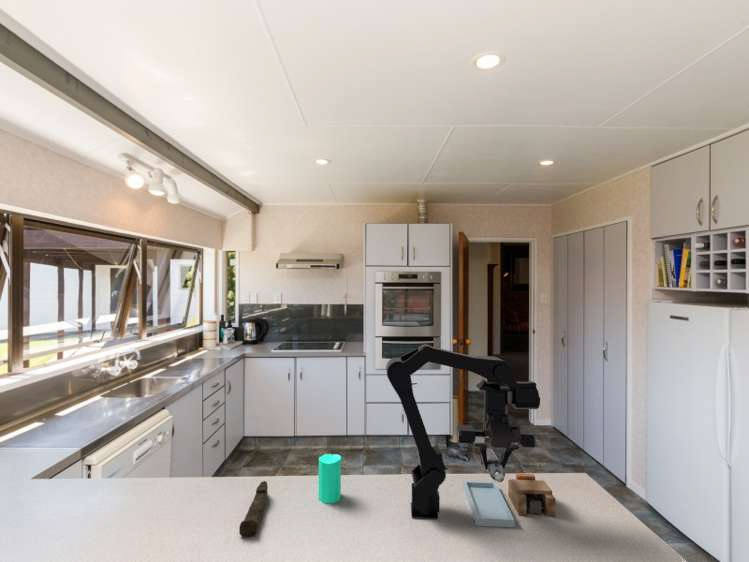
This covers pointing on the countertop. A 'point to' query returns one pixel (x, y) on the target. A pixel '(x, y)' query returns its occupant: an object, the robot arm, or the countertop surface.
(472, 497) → the tray
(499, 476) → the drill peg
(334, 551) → the countertop surface
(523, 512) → the socket block
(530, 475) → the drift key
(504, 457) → the robot arm
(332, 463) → the candle
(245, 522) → the dark brown rod
